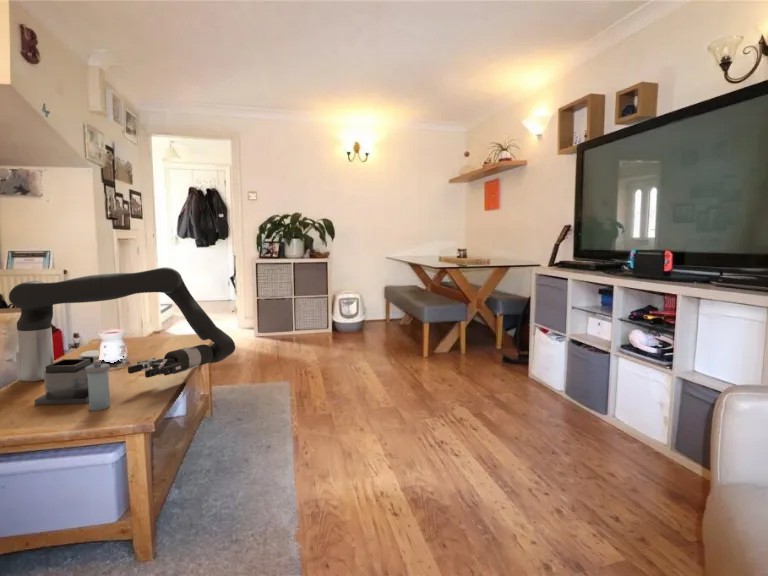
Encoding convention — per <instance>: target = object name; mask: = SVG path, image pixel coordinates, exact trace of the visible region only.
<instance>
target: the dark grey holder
mask: <svg viewBox="0 0 768 576" xmlns="http://www.w3.org/2000/svg"><path fill="white" fill-rule="evenodd" d="M90 365H91V362H90V359H76V358H67V359H66V358H63V359H60V360H58V361H54V363H53V364H50V365H48V366H46V371H44V392H45V394H42V395H41V396H40V397H37V398H35V399H34V405H35V406H38V405H39V406H45V405H79V404H80V405H85V403H86V405H87V404H89V393H88V377H87V372H85V367H87V366H90ZM83 403H84V404H83Z"/></svg>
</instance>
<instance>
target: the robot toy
mask: <svg viewBox="0 0 768 576" xmlns="http://www.w3.org/2000/svg"><path fill="white" fill-rule="evenodd" d="M75 359H90V362H91V365H94V362H93V361H95V360H98V359H99V350H97V349H95V350H89V349H88V350H86V351H84V352H81V353H80V354H79V355H78V357H75Z"/></svg>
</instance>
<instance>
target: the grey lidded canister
mask: <svg viewBox="0 0 768 576" xmlns="http://www.w3.org/2000/svg"><path fill="white" fill-rule="evenodd" d="M93 362H94V365H90V366H87V367H85V372H87V377H88V393H89V402H88V409H89V411H93V412H97V411H98V410H99V411H102V410H103V409H104V410H107V409H109V408H110V407H111V397H110V376H109V370H110V369H111V367H110V365H111V364H110V363H102V362H101V360H95V361H93ZM108 407H109V408H108ZM106 408H107V409H106ZM99 411H98V412H99Z"/></svg>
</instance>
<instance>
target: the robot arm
mask: <svg viewBox="0 0 768 576" xmlns="http://www.w3.org/2000/svg"><path fill="white" fill-rule="evenodd" d="M146 293H163V294H165V295H166V296H167V297H168V298H169V299H170V300H172V302H173V303H174V304H175V305H176V306H177V307H178V309H179V310H180V312H181V314H182V315H183V317H184V318H185V320H186V322H187V324H188V326H190V327H191V329H192V330H193V331H194V332H195V334H196V335H197V336H198V338H199V339H200V340H202V341H207V340H210V341H211V342H212V344H210V345H209V344H199V345H195V346H190V347H189V346H188V347H184V348H180V349H176V350H175V349H174V350H170V351H167V352H166V354H165V355H164V357H163V358H157V359H156V357H151V358H148V359H147V358H146V359H144V360H139V361H137V364H134V365H130V366H128V367H127V373H128V374H130V375H131V374H135V373H138V372H143V371H144V377H145V378H152V377H155V376H162V375H163V376H165V377H167V376H169V375H175V374H179V373H182V372H186V371H189V370H192V369H194V368H196V367H200V366H203V365H206V364H217V363H219V362H221V361H223V360H225V359H227V358H228V357H229V356H231V355H232V354H234V352H235V350H236V343H235V341H234V339H232V337H231V336H229V334H227V333H226V332H225V331H223V330H222V329H221V328H219V327H217V325H216V324H215V323H214V321H213V320H212V319H211V317H210V316H209V315H208V314H207V313H206V311H205V310H204V309H203V308H202V307H201V305H200V304H199V303H198V302H197V301H196V299H195V298H194V297H193V295H192V294H191V292H190V290H189V289H188V287H187V285H186V283H185V282H184V279H183V278H182V275H181V274H180V272H179V271H178V270H176V269H174V268H172V267H169V266H167V267H166V266H164V267H163V266H162V267H158V268H155V269H150V270H143V271H138V272H116V273H101V274H100V273H99V274H92V275H91V274H90V275H86V276H80V277H74V278H71V279H66V280H62V281H57V282H55V281H53V282H44V281H41V280H31V281H25V282H21V283H19V284H17V285H15V286H13V288H12V289H11V290H10V291H9V293H8V294H9V295H8V300H9V302H10V303H11V304H12V305H13V306H14V307H15V308H17V309H20V316H19V318H18V320H17V321H16V331H17V332H16V333H17V344H18V346H17V347H18V351H17V352H15V359H16V360H15V362H16V375H17V381H22V382H39V381H43V380H44V371H46V366H48V365H50V364H53V363H55V358H54V342H53V329H52V321H53V318H54V305H59V304H78V303H79V304H80V303H82V304H83V303H94V302H96V303H97V302H104V301H112V300H113V301H114V300H117V299H121V298H125V297H128V296H132V295H136V294H146Z"/></svg>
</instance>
